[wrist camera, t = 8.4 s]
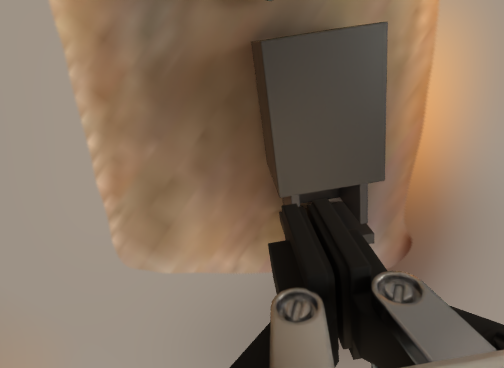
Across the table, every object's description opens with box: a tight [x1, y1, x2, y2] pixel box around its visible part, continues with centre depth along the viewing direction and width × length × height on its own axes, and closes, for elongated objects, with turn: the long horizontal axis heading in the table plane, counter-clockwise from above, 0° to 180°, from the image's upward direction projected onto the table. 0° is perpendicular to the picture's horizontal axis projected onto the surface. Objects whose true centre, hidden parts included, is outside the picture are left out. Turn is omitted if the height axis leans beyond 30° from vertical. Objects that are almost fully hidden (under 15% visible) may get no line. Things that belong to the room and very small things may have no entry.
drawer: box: [279, 183, 374, 244], centre depth 36 cm, size 17×9×8 cm, turn 8°
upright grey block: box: [251, 22, 388, 198], centre depth 32 cm, size 13×10×9 cm
